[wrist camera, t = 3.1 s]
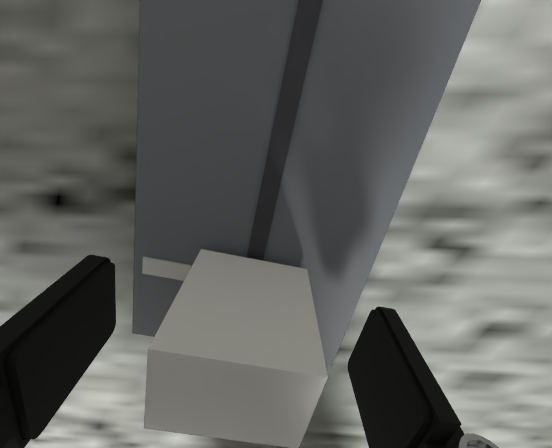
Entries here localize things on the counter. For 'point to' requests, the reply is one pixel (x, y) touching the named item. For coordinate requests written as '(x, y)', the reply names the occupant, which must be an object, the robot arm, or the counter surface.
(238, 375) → the fader knob
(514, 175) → the counter surface
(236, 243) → the fader panel
